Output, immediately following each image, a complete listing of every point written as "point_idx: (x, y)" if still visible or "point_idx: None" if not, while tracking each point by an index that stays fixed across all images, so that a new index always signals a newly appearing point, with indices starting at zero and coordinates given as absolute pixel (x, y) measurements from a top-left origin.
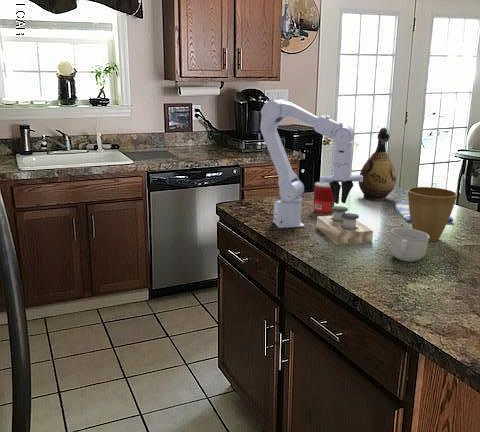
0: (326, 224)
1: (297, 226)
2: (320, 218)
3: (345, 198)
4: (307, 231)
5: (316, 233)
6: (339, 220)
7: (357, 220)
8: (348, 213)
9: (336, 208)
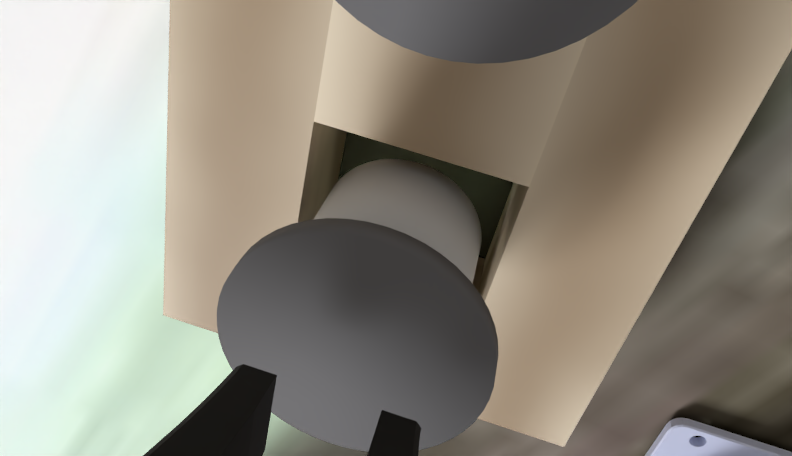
0: (720, 165)
1: (755, 442)
2: (591, 380)
3: (204, 438)
4: (768, 306)
5: (735, 208)
6: (434, 189)
7: (171, 93)
8: (406, 11)
9: (405, 370)
